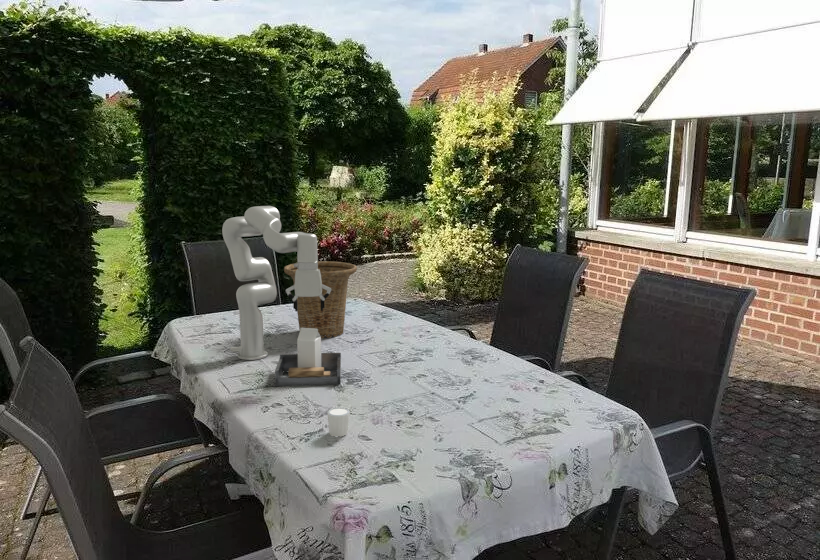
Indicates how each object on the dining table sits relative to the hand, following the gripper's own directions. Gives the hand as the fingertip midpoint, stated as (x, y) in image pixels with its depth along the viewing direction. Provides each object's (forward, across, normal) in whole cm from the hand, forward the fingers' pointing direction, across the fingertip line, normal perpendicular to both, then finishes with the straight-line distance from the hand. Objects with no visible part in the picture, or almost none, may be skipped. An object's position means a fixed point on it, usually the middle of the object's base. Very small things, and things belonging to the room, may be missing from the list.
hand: (309, 310), depth 239 cm
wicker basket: (+26, +1, +65) cm, 70 cm away
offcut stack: (+26, 0, -7) cm, 27 cm away
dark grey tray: (+26, -1, -2) cm, 26 cm away
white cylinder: (+27, +11, -55) cm, 62 cm away
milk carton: (+26, -1, +1) cm, 26 cm away
